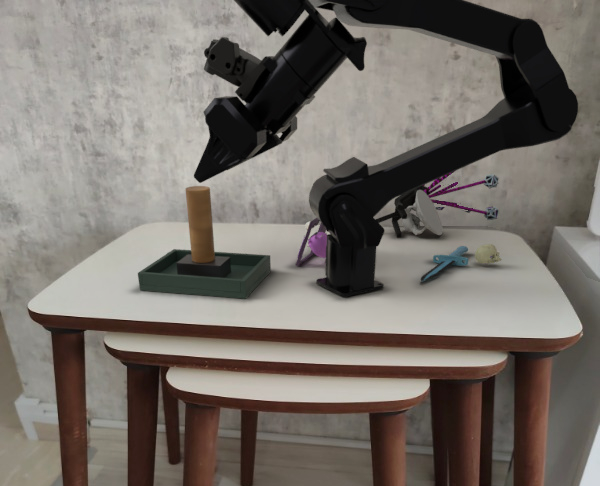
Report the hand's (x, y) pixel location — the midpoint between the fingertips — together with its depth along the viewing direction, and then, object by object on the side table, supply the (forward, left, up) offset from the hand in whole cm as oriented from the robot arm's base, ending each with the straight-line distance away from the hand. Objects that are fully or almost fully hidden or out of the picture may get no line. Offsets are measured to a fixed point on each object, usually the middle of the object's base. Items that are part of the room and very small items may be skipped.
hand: (211, 173), depth 73 cm
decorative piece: (+7, -29, -12) cm, 32 cm away
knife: (-10, -28, -13) cm, 32 cm away
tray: (+1, +1, -14) cm, 14 cm away
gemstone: (-14, -35, -14) cm, 40 cm away
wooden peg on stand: (+1, +1, -13) cm, 13 cm away
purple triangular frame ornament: (+1, -17, -14) cm, 22 cm away
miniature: (+3, -40, -10) cm, 41 cm away
